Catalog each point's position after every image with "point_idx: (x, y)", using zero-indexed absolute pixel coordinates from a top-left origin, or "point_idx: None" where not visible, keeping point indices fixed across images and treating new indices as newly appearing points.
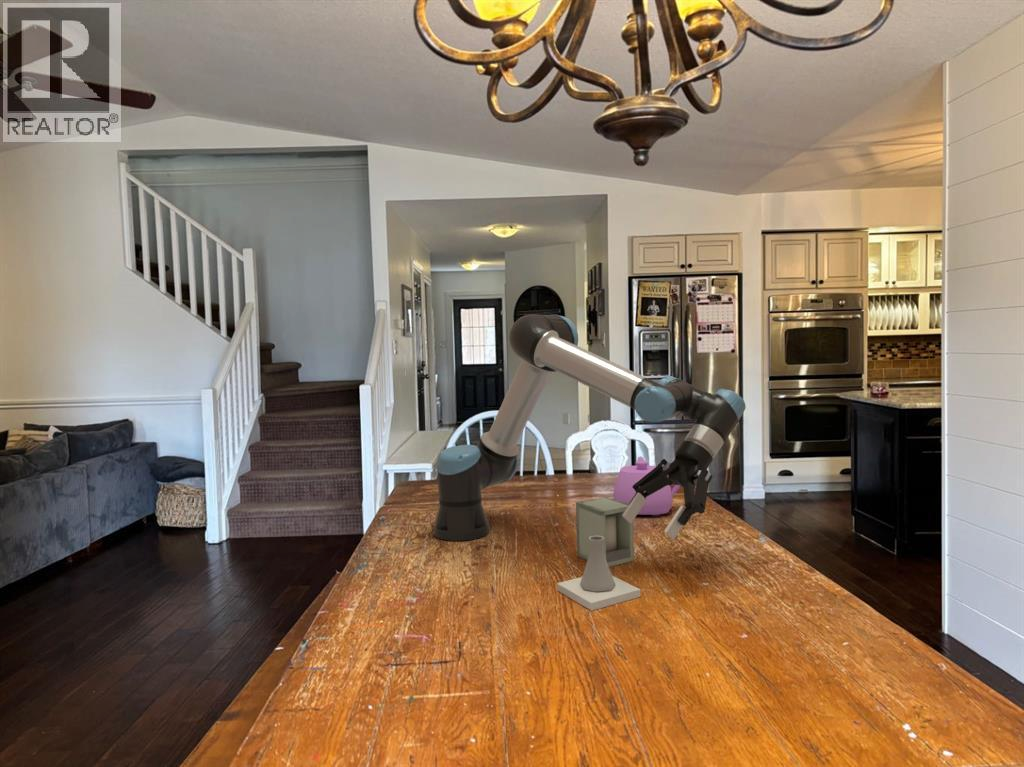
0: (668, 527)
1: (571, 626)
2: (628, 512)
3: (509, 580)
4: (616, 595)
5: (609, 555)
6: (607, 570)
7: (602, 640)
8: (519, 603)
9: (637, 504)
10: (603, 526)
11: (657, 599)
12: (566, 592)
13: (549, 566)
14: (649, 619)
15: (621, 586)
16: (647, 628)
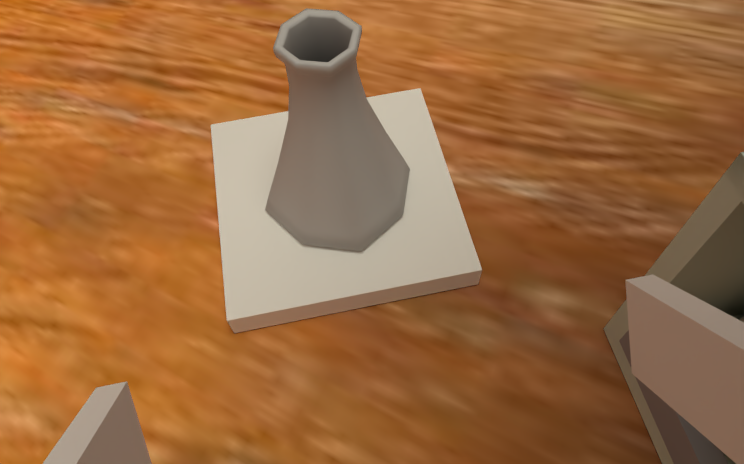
0: (92, 408)
1: (157, 70)
2: (656, 313)
3: (554, 18)
4: (222, 215)
5: None
6: (290, 171)
7: (37, 106)
8: (365, 5)
9: (739, 402)
10: (694, 230)
11: (177, 385)
12: None
13: (671, 148)
14: (54, 271)
15: (291, 266)
16: (8, 236)
